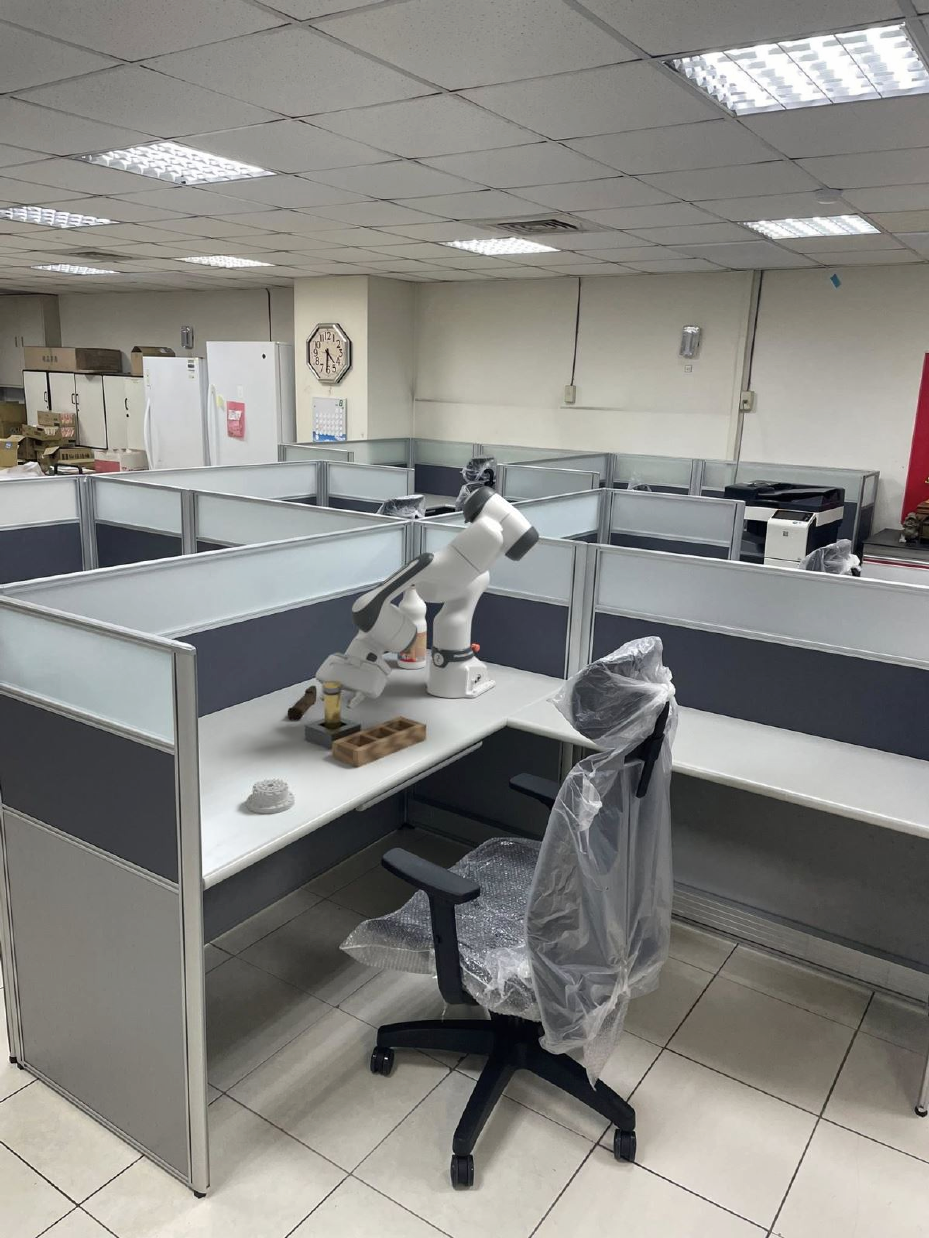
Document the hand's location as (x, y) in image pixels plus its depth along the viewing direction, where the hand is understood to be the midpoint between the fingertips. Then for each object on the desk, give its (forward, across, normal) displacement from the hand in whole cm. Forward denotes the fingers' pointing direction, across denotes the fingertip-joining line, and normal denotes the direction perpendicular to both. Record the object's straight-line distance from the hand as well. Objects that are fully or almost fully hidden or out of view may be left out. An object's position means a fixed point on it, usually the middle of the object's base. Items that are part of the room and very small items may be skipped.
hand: (335, 704), depth 225 cm
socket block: (+7, 0, +6) cm, 10 cm away
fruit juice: (-37, -26, +51) cm, 68 cm away
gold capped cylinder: (+7, -1, +6) cm, 10 cm away
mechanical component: (+32, +15, -18) cm, 40 cm away
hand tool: (-1, -23, +14) cm, 27 cm away
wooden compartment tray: (+5, +13, +9) cm, 16 cm away
